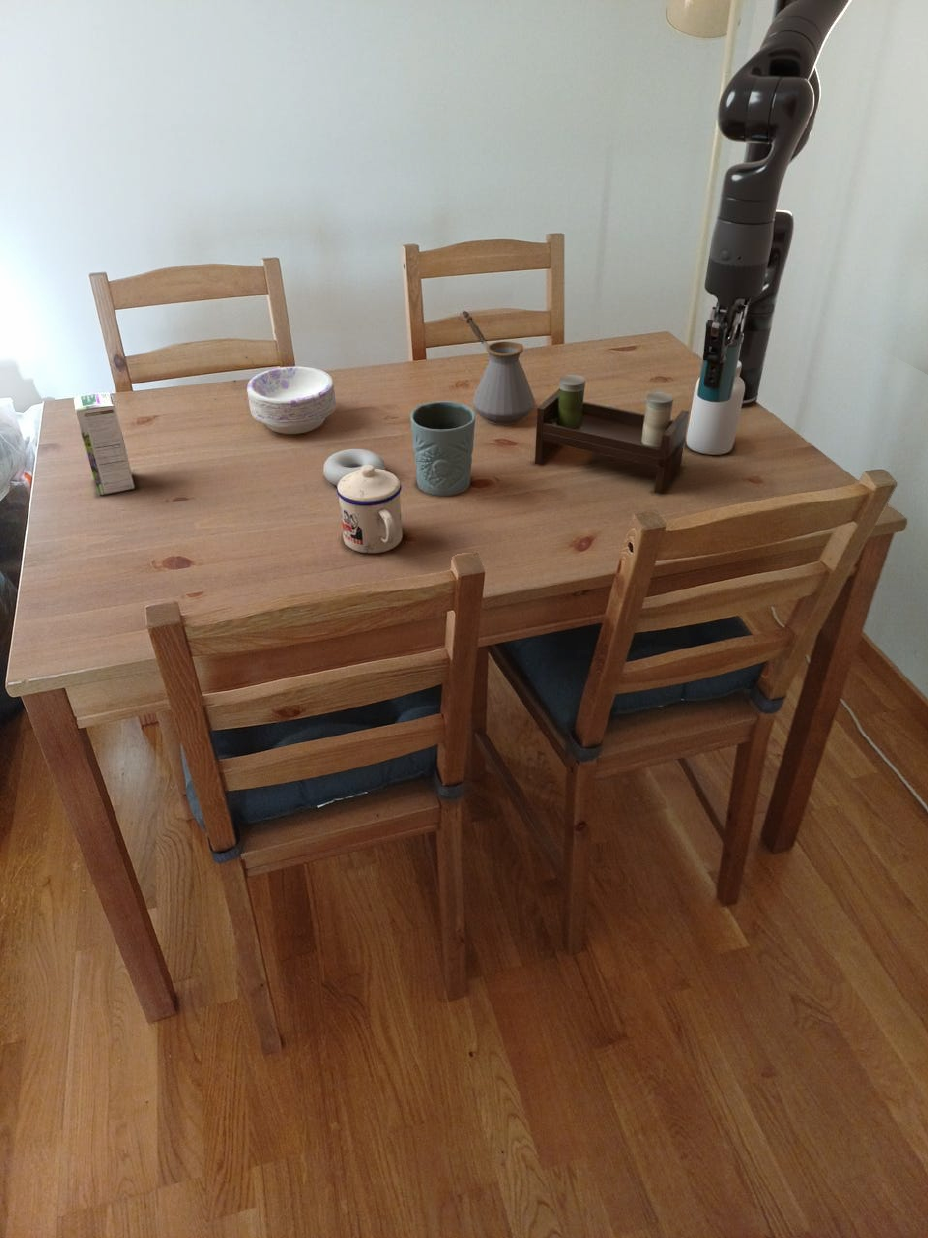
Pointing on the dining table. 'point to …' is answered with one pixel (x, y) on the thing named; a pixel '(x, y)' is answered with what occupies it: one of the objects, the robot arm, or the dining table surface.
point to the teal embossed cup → (443, 446)
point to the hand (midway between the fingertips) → (716, 379)
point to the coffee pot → (502, 383)
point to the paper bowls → (291, 398)
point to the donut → (349, 463)
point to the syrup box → (104, 442)
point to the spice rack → (612, 429)
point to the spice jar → (728, 374)
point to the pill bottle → (715, 421)
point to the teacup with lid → (370, 510)
